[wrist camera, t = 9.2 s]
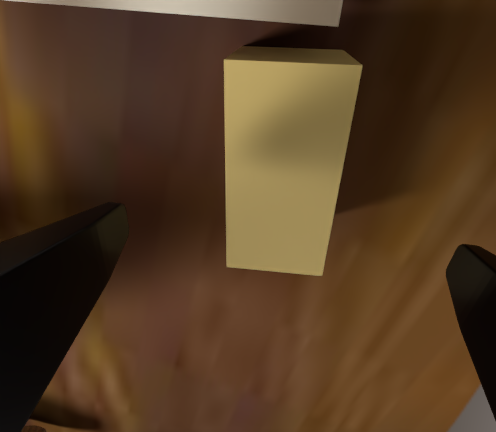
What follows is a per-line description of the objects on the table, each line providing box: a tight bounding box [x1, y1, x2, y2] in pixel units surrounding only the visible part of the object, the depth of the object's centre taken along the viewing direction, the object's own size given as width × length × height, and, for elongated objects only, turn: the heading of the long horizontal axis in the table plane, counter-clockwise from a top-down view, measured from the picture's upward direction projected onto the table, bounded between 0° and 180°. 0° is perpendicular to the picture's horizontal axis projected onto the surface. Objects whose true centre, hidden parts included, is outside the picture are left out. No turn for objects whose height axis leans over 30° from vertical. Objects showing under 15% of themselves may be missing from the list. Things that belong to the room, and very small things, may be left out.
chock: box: [224, 46, 363, 276], centre depth 14 cm, size 4×8×4 cm, turn 178°
